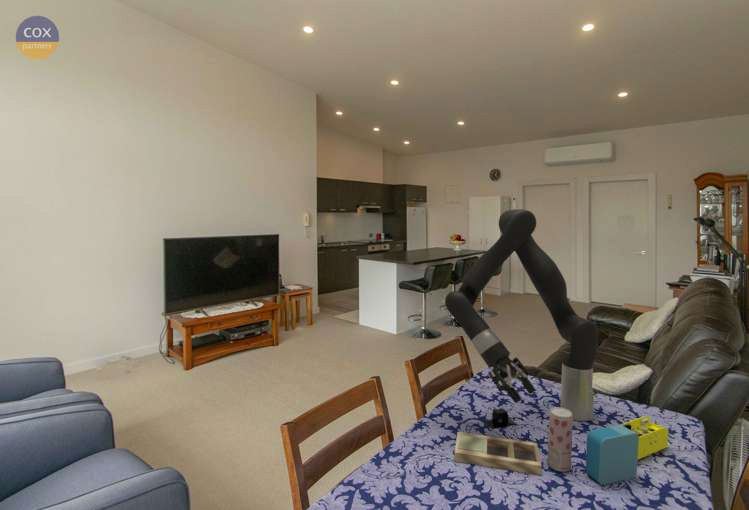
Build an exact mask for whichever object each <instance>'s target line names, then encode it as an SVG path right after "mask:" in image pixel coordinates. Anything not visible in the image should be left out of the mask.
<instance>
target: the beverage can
mask: <svg viewBox="0 0 749 510" xmlns="http://www.w3.org/2000/svg"><path fill="white" fill-rule="evenodd" d="M573 421H574V420H573V417H572V413H571V412H570V411H569V410H567V409H564V408H560V407H559V406H557V407H555V406H554V407H552V408H550V409H549V415H548V440H547V441H548V442H547V465H548V466H549V467H550V468H551V469H553V470H554V471H557V472H560V473H566V472H569V471H570V470H571V469H572V453H573V452H572V448H573Z"/></svg>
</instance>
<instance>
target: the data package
mask: <svg viewBox="0 0 749 510" xmlns="http://www.w3.org/2000/svg"><path fill="white" fill-rule="evenodd" d="M624 426H625V425H624ZM624 426H622V425H621V424H617V425H612V426H608V427H601V428H595V429H590V430H589V432H588V433H587V435H586V450H585V451H586V453H585V455H586V456H585V473H586V474H587V475H588V476H589V477H591V478H592V479H594V481H596V482H598V483H599V484H600V485H602V486H606V485H609V484H613V483H617V482H621V481H626V480H631V479H634V478H635V477H636V475H637V473H638V460H639V459H638V442H639V437H638V435H637V434H636V433H635V432H633V431H631V430H629V429H628V428H626V427H624Z"/></svg>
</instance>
